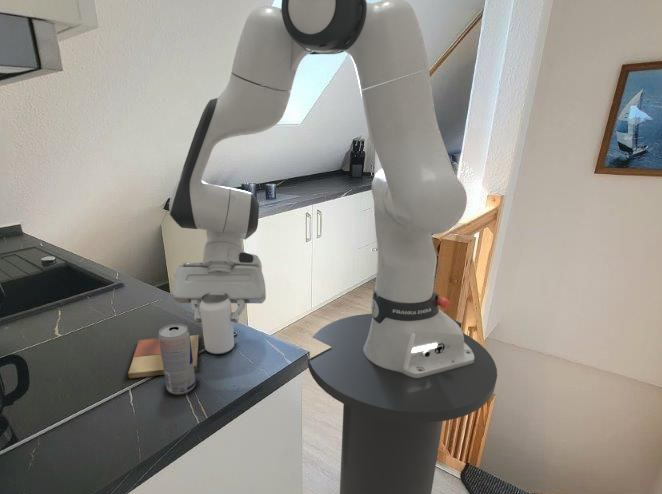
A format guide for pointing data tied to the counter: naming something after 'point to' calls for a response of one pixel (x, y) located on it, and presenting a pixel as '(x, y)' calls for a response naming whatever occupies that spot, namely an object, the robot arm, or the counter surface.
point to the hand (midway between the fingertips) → (216, 321)
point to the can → (217, 323)
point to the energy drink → (177, 358)
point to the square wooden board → (155, 358)
